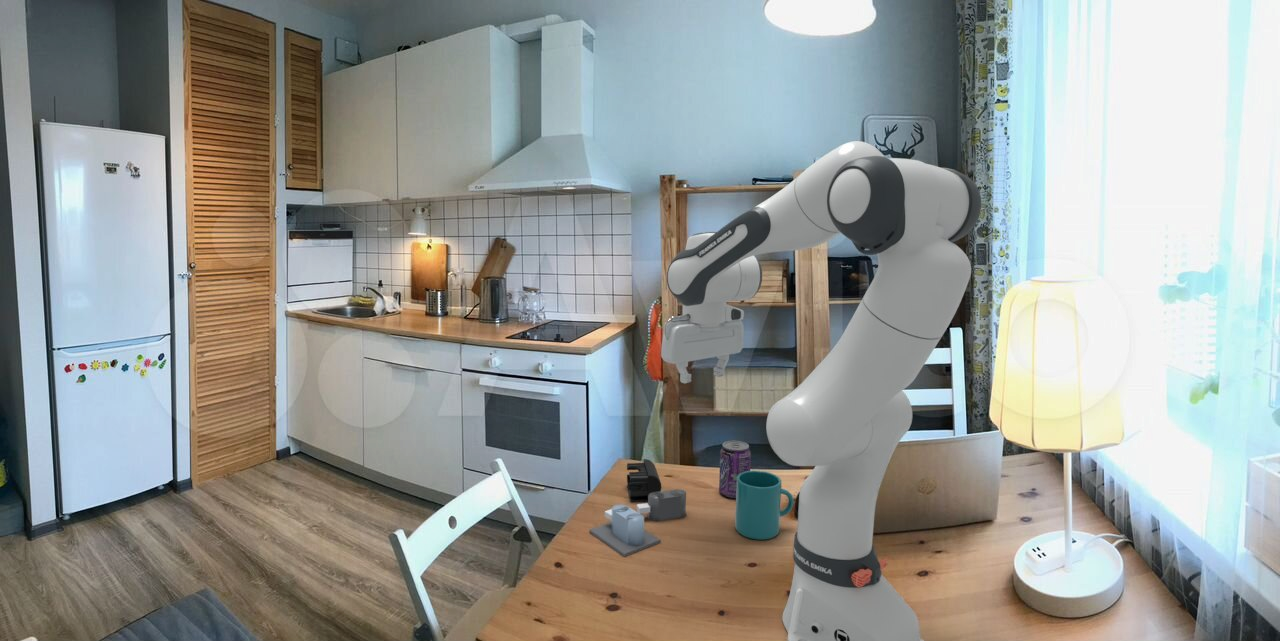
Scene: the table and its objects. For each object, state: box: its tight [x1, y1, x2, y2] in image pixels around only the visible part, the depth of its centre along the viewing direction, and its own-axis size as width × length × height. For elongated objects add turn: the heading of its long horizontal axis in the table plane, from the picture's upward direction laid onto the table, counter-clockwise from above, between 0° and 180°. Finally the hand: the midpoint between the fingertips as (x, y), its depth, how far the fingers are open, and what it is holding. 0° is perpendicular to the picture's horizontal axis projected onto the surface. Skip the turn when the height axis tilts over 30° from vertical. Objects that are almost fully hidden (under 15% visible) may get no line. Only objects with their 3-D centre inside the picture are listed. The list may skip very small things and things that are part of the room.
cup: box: [734, 470, 794, 541], centre depth 127 cm, size 9×12×11 cm
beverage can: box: [718, 440, 752, 499], centre depth 144 cm, size 7×7×12 cm
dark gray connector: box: [636, 489, 687, 522], centre depth 133 cm, size 11×4×5 cm, turn 108°
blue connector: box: [604, 504, 645, 546], centre depth 124 cm, size 11×4×5 cm, turn 38°
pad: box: [588, 521, 662, 558], centre depth 124 cm, size 12×9×1 cm
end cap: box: [626, 458, 662, 503], centre depth 144 cm, size 10×7×7 cm
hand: (702, 379), depth 127 cm, fingers open, 8 cm apart
